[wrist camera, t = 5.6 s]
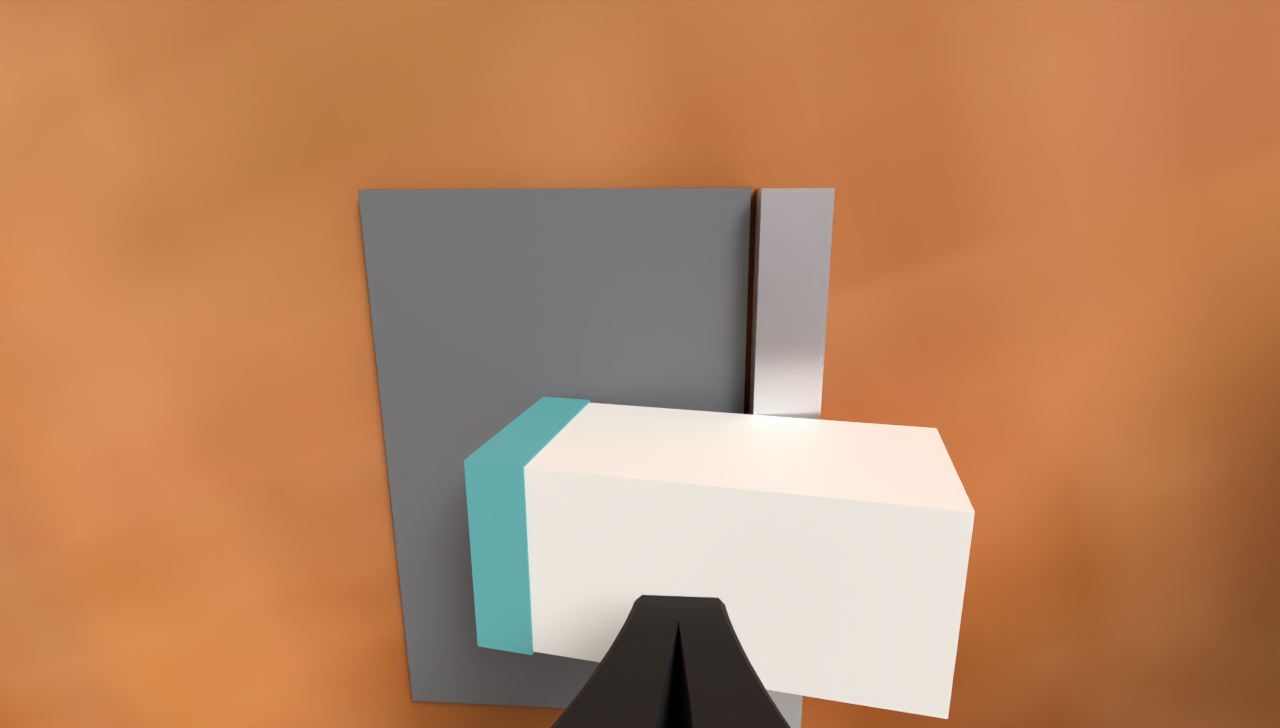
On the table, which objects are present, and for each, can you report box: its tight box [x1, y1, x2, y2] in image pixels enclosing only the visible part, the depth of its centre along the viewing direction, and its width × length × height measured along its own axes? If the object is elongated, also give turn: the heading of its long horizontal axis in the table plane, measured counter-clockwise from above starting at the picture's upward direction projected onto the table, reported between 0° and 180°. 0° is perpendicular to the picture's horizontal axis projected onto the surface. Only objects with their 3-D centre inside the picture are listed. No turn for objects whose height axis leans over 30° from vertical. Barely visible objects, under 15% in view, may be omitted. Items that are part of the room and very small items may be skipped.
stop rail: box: [749, 187, 835, 728], centre depth 17 cm, size 2×14×1 cm, turn 0°
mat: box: [358, 188, 751, 708], centre depth 18 cm, size 9×14×1 cm, turn 0°
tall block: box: [464, 397, 975, 719], centre depth 15 cm, size 4×4×9 cm
